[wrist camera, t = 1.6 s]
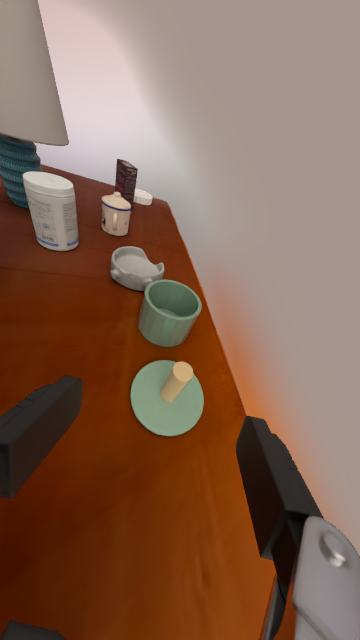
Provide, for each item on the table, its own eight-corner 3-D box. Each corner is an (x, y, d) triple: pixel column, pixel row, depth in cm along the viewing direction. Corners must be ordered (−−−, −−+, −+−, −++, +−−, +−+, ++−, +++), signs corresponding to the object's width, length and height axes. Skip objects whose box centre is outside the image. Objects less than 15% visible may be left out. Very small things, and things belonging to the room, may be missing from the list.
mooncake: (155, 203, 100) (157, 196, 97) (143, 206, 91) (144, 198, 88) (136, 194, 101) (137, 186, 98) (122, 196, 92) (123, 187, 89)
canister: (129, 312, 42) (135, 282, 36) (172, 304, 49) (182, 277, 43) (152, 353, 37) (163, 325, 31) (196, 338, 43) (212, 312, 37)
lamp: (11, 180, 67) (-45, -34, 40) (85, 206, 72) (80, 29, 45) (-56, 198, 49) (-235, -167, 22) (50, 231, 54) (5, -39, 27)
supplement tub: (71, 233, 56) (65, 174, 46) (84, 251, 53) (82, 191, 42) (31, 234, 50) (15, 167, 40) (43, 254, 47) (29, 185, 36)
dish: (125, 256, 57) (127, 240, 54) (167, 275, 57) (171, 260, 54) (96, 278, 46) (96, 260, 43) (148, 301, 46) (152, 285, 43)
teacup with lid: (102, 221, 68) (103, 183, 60) (128, 227, 71) (132, 192, 63) (98, 236, 60) (98, 195, 52) (127, 243, 63) (132, 205, 55)
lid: (118, 377, 32) (123, 348, 26) (178, 354, 39) (193, 327, 33) (150, 456, 26) (167, 441, 20) (214, 412, 33) (240, 392, 27)
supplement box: (132, 214, 81) (138, 169, 70) (121, 213, 78) (125, 166, 67) (124, 205, 85) (128, 161, 74) (113, 203, 82) (116, 158, 71)
